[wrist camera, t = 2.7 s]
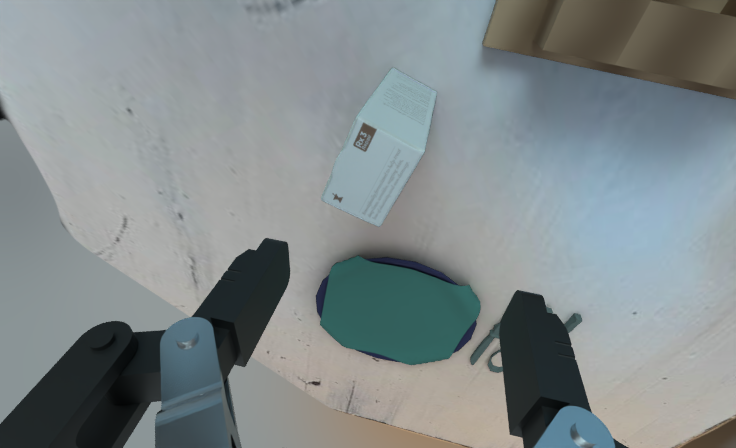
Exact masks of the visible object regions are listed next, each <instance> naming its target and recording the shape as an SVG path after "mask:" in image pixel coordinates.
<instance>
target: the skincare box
mask: <svg viewBox="0 0 736 448" xmlns="http://www.w3.org/2000/svg"><path fill="white" fill-rule="evenodd" d="M436 96H437V92H436V91H434V90H432V89H430V88H429V87H427V86H425V85H423V84H422V83H420V82H418V81H416V80H414V79H412V78H411V77H409V76H407V75H405V74H403V73H402V72H400V71H398V70H397V69H395V68H391V70H390V71H389V72H388V74H387V75H386V76H385V78H384V79H383V81H382V82H381V83H380V85H379V86H378V87H377V89H376V90H375V91H374V93H373V94H372V95H371V97H370V98H369V100H368V101H367V102H366V104H365V105H364V106H363V108H362V109H361V111H360V112H359V114H358V115H357V117H356V118H355V121H354V123H353V125H352V127H351V130H350V132H349V134H348V137H347V139H346V141H345V143H344V146H343V148H342V150H341V153H340V154H339V156H338V157H337V159H336V162H335V164H334V166H333V170H332V173H331V175H330V178H329V180H328V182H327V185H326V187H325V189H324V192H323V194H322V197H321V200H322V201H324V202H326V203H328V204H330V205H332V206H334V207H336V208H338V209H340V210H343V211H345V212H347V213H349V214H351V215H353V216H355V217H357V218H360V219H362V220H364V221H366V222H368V223H371V224H373V225H376V226H378V227H380V226H381V225H382V223H383V221H384V220H385V218H386V216H387V215H388V213H389V211H390V209H391V208H392V206H393V204H394V203H395V201H396V199H397V198H398V196H399V194H400V193H401V191H402V189H403V188H404V186H405V184H406V183H407V181H408V180H409V178H410V176H411V174H412V173H413V171H414V169H415V168H416V166H417V164H418V162H419V161H420V159H421V157H422V156H423V154H424V153H425V148H426V143H427V138H428V135H429V130H430V126H431V121H432V116H433V111H434V106H435V101H436Z"/></svg>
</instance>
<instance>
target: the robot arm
mask: <svg viewBox="0 0 736 448" xmlns="http://www.w3.org/2000/svg"><path fill="white" fill-rule="evenodd" d="M289 278H290V263H289V250H288V243H287V242H284V241H279V240H274V239H269V238H265V239H264V240H263V241H262V243H261V244H260V246H259V247H258V249H257V250H256V251H255V250H251V249H248V250H247V251H245V252H244V253H242V254H241V255H239V256H238V257H236V258H235V260H234V261H233V263H232V264H231V265H230V267H229V268H228V271H226V272H225V273H224V275H223V276H222V277H221V280H219V281H218V283H217V284H216V285H215V287H214V288H213V289H212V291H211V292H210V293H209V295H208V296H207V297H206V299H205V300H204V302H203V303H202V304H201V306H200V307H199V308H198V310H197V311H196V312H195V313H194V315H193V316H192V317H190V318H185V319H183V320H180V321H178V322H176V323H175V324H173V325H172V326H170V327H169V328H168V329H167V330H162V331H147V332H133V331H132V329H131V328H130V326H129V325H128V324H126V323H124V322H120V321H111V322H106V323H102V324H100V325H97V326H95V327H93V328H91V329H90V330H88V331H87V332H86V333H84V334H83V335H82V336H81V337H80V338H79V339H78V340H77V341H76V342H75V343H74V345H73V346H72V347H71V348H70V349H69V350H68V351H67V352H66V353H65V354H64V356H62V358H61V359H60V360H59V361H58V362H57V363H56V364H55V365H54V366H53V367H52V368H51V370H50V371H49V372H48V373H47V374H46V375H45V376H44V377H43V378H42V379H41V380H40V382H39V383H38V384H37V385H36V386H35V387H34V388H33V389H32V390H31V391H30V392H29V394H27V396H26V397H25V398H24V399H23V400H22V401H21V402H20V403H19V404H18V405H17V406H16V407H15V409H14V410H13V411H12V412H11V413H10V414H9V415H8V416H7V417H6V418H5V419H4V421H3V422H2V423H1V424H0V448H123V446H124V445H125V443H126V442H127V440H128V438H129V437H130V435H131V434H132V432H133V430H134V429H135V427H136V426H137V424H138V423H139V421H140V419H141V418H142V416H143V414H144V413H145V411H146V410H147V408H148V407H149V405H150V403H151V402H156V401H161V402H162V405H161V411H159V412H158V413H157V414H156V419H155V448H242V447H241V442H240V438H239V434H238V430H237V424H236V418H235V412H234V406H233V401H232V395H231V389H230V384H229V378H228V375H229V373H230V371H231V369H232V368H233V366H234V365H238V366H242V367H245V366H246V364H247V362H248V360H249V359H250V357H251V355H252V353H253V351H254V349H255V347H256V345H257V343H258V341H259V339H260V338H261V336H262V334H263V332H264V330H265V328H266V326H267V324H268V322H269V320H270V318H271V317H272V315H273V313H274V311H275V309H276V307H277V305H278V303H279V301H280V299H281V297H282V295H283V294H284V292H285V290H286V288H287V285H288V282H289ZM499 338H500V347H501V357H502V366H503V375H504V384H505V394H506V403H507V412H508V421H509V431H510V435H514V436H518V437H522V438H523V444H524V448H628V447H626V446H624V445H623V444H621V443H619V442H618V441H616V440H615V439H614V438H612V436H611V434H610V432H609V430H608V429H607V427H606V426H605V425H604V423H603V422H602V421H601V420H600V419H599V418H598V417H596V416H595V415H594V414H592V412H591V409H590V406H589V403H588V399H587V396H586V392H585V389H584V385H583V382H582V379H581V375H580V372H579V368H578V365H577V362H576V360H575V355H574V351H573V348H572V347H571V341H570V338H569V334H568V331H567V328H566V327H565V326H564V324H563V323H562V321H561V320H560V319H559V317H558V316H557V315H556V314H552V313H547V309H546V305H545V301H544V298H543V296H542V295H539V294H534V293H529V292H524V291H520V290H517V291H516V292H515V294H514V295H513V297H512V299H511V301H510V303H509V305H508V307H507V309H506V311H505V313H504V315H503V317H502V319H501V323H500V328H499Z"/></svg>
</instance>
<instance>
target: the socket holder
mask: <svg viewBox="0 0 736 448" xmlns="http://www.w3.org/2000/svg"><path fill="white" fill-rule="evenodd" d="M482 44H483V46H486V47H491V48H495V49H500V50H505V51H510V52H514V53H519V54H524V55H529V56H533V57H538V58H543V59H547V60H552V61H557V62H562V63H566V64H571V65H576V66H580V67H585V68H590V69H595V70H599V71H604V72H609V73H614V74H618V75H623V76H628V77H632V78H637V79H642V80H647V81H651V82H656V83H661V84H665V85H670V86H675V87H680V88H684V89H689V90H694V91H698V92H703V93H708V94H713V95H717V96H722V97H727V98H732V99H736V0H496V3H495V6H494V9H493V12H492V15H491V18H490V21H489V24H488V27H487V30H486V33H485V36H484V40H483V43H482Z"/></svg>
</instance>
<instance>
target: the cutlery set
mask: <svg viewBox="0 0 736 448" xmlns="http://www.w3.org/2000/svg"><path fill="white" fill-rule="evenodd" d="M316 304H317V312H318V314H319V316H320V318H321V321H320V325H321V326H322V327H323V328H324V329H325V330H326V331H327V332H328V333H329V334H330V335H331V336H332V337H333V338H334V339H335V340H336V341H337V342H339V343H340V344H341V345H342V346H344V347H346V348H350V349H355V350H357V351H359V352H362V353H365V354H367V355H370V356H373V357H375V358H380V359H385V360H390V361H395V362H402V363H405V364H409V365H416V364H422V363H428V362H435V361H441V360H443V359H448V358H450V356H451V355H452V353H455V352H457V351H459V350H460V349H461V348H462V347H463V346H464V345H465V344H466V343H467V342H468V341H469V340H470V339H471V337H472V335H473V332H474V330H475V327H476V324H477V323H476V319H477V317H478V315H479V312H480V301H479V299H478V297H477V296H476V295H475V293H474V292H473V291H472V289H471V287H470V286H469V285H467V286H459V285H458V284H456V283H455V282H454V281H452V280H451V279H450V278H448V277H447V276H446V275H444V274H443V273H442V272H439V271H437V270H434V269H432V268H430V267H427V266H425V265H422V264H420V263H417V262H413V261H407V260H401V259H394V258H388V257H384V258H372V259H364V258H362V257H360V256H358V255H357V256H356V257H353V258H350V259H349V260H344V261H342V262H339V263H336V264H335V265H334V266H333V267H332V268H331V271H330V274H329V275H328V276H327V277H326V278H325V279H324V280H323V281H322V283H321V285H320V288H319V290H318V292H317V295H316ZM546 309H547V313H553V312H552V309H551V308H548V307H546ZM581 322H582V318H581V315H578V314H574V315H573V316H572V317H571V318H570V319H569V320H568V321H567V322H566V324H565V325H564V326H565V327H566V328H567V331H568V333H569V332H571V331H572V330H573V329H574V328H575V327H576V326H577V325H578V324H580V323H581ZM500 323H501V322H500ZM500 323H498V324H496V325H494V330H490V335H488V336H487V337H486V338H485V339H484V340H483V341H482V342H481V344H480V345H479V346H478V347H477V349H476V350H475V352H474V353H473V354H472V356H471V359H470V360H471V364H472V365H474V364H475V362H476V361H477V360H478V358H479V357H480V356H481V355H482V353H483V352H484V351H485V349H486V348H487V347H488V346H489V344H490V343H491V342H492V340H493V339H494V338H499V328H500ZM498 352H501V350H498V351H497V352H495V353H494V354H493V355H492V356H491V358H490V361H489V363H488V366H489V369H490V371H493V372H497V373H498V372H502V371H503V367H497V366H494V365H493V364H492V362H491V359H492V357H493V356H494V355H496V354H497V353H498Z"/></svg>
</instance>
